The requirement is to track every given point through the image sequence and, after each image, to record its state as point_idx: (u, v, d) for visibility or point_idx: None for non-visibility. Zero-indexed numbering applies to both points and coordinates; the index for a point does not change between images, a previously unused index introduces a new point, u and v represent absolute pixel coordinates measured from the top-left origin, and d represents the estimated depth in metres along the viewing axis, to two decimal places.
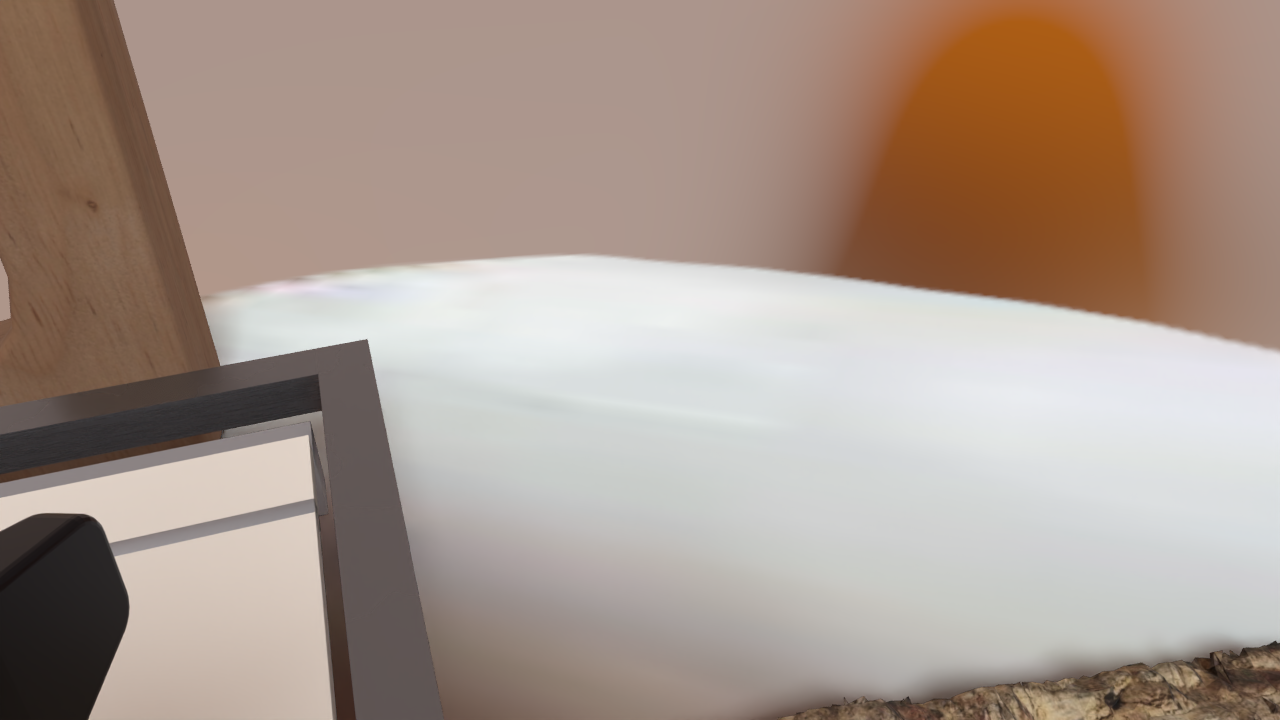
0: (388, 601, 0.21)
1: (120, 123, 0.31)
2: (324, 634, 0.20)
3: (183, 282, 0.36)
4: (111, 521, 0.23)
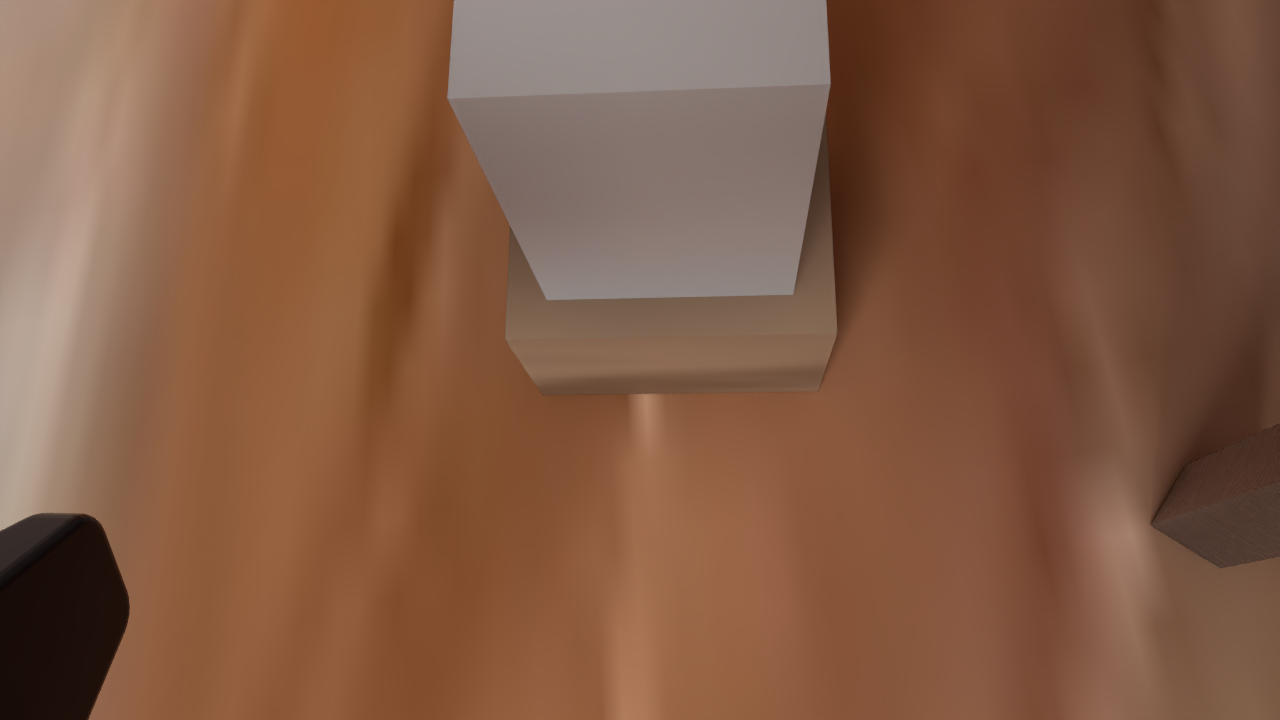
0: None
1: None
2: None
3: None
4: None
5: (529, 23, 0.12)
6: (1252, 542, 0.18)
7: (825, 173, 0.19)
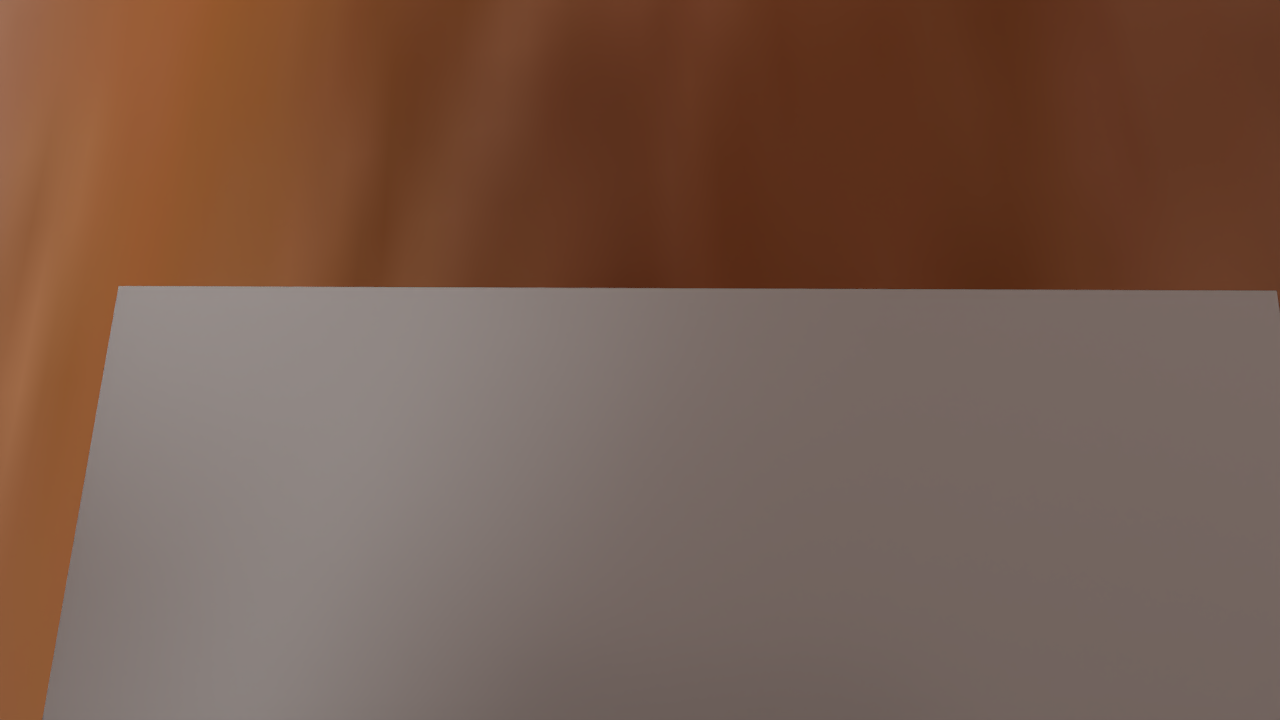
0: None
1: None
2: None
3: None
4: None
5: None
6: None
7: None
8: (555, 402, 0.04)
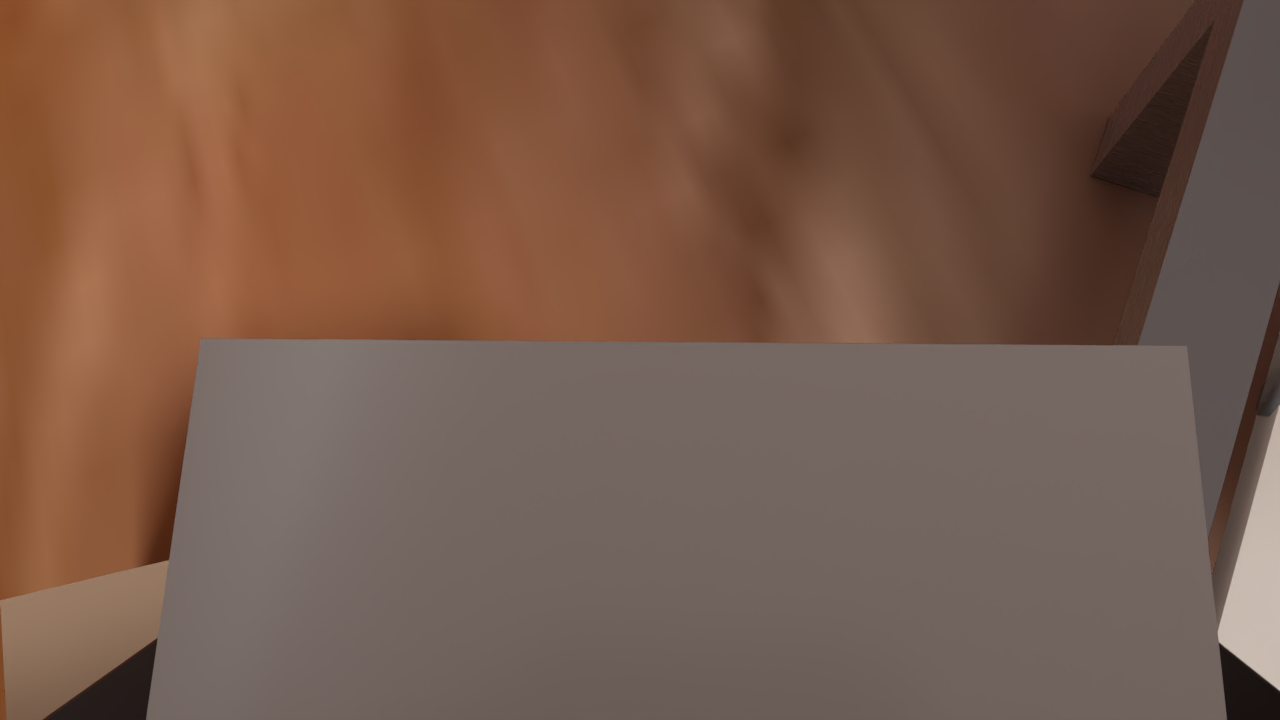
0: None
1: None
2: None
3: None
4: None
5: None
6: None
7: None
8: (575, 440, 0.05)
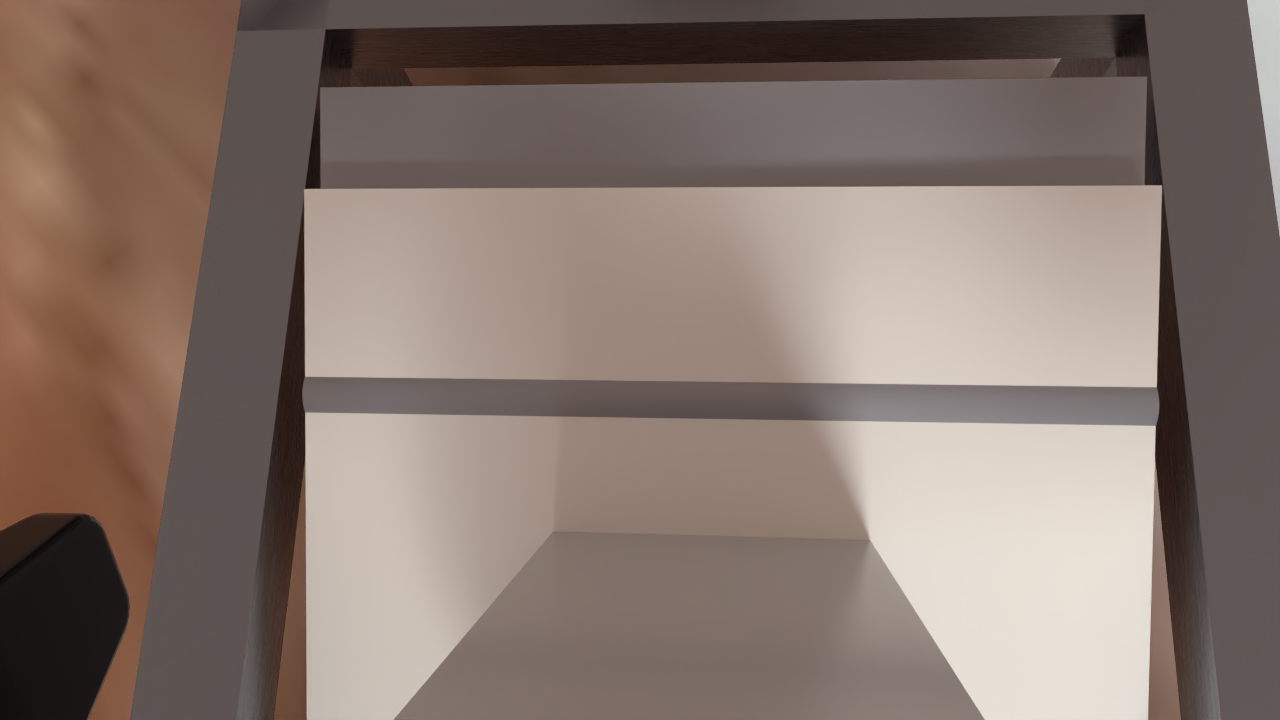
0: None
1: None
2: (1146, 712, 0.14)
3: None
4: (825, 324, 0.14)
5: None
6: None
7: None
8: None
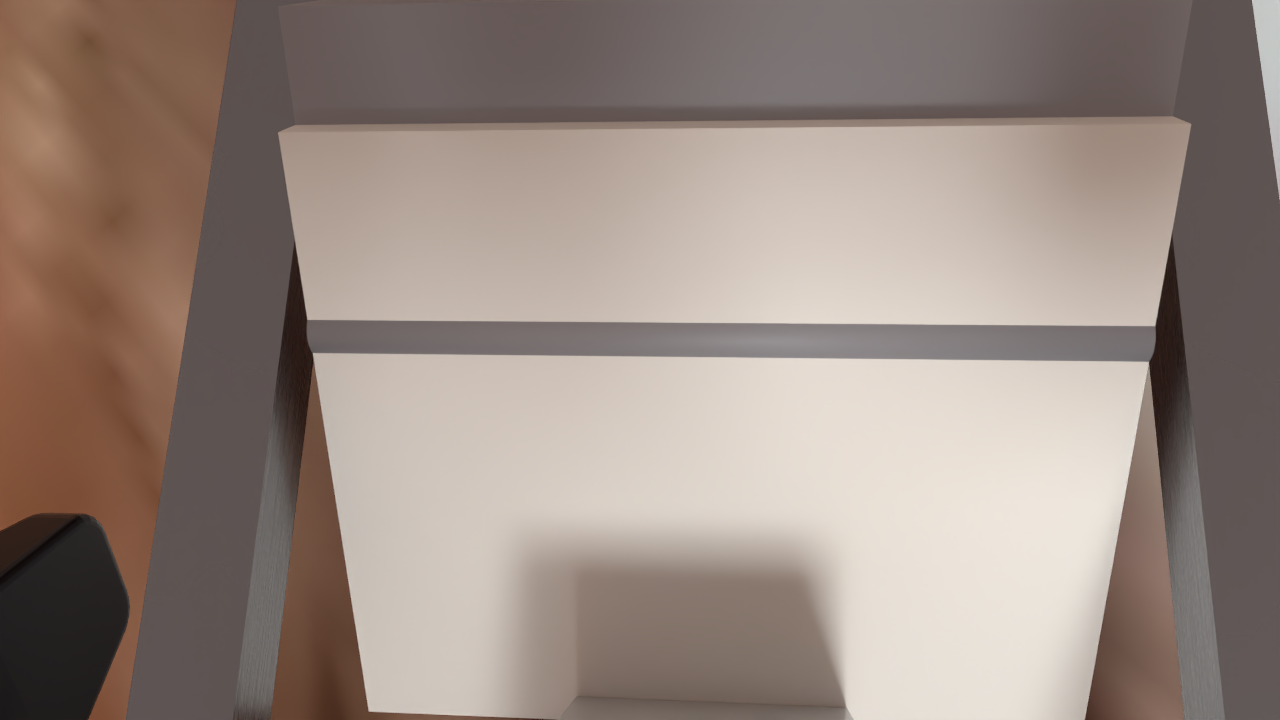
0: None
1: None
2: (1104, 600, 0.16)
3: None
4: (827, 267, 0.14)
5: None
6: None
7: None
8: None
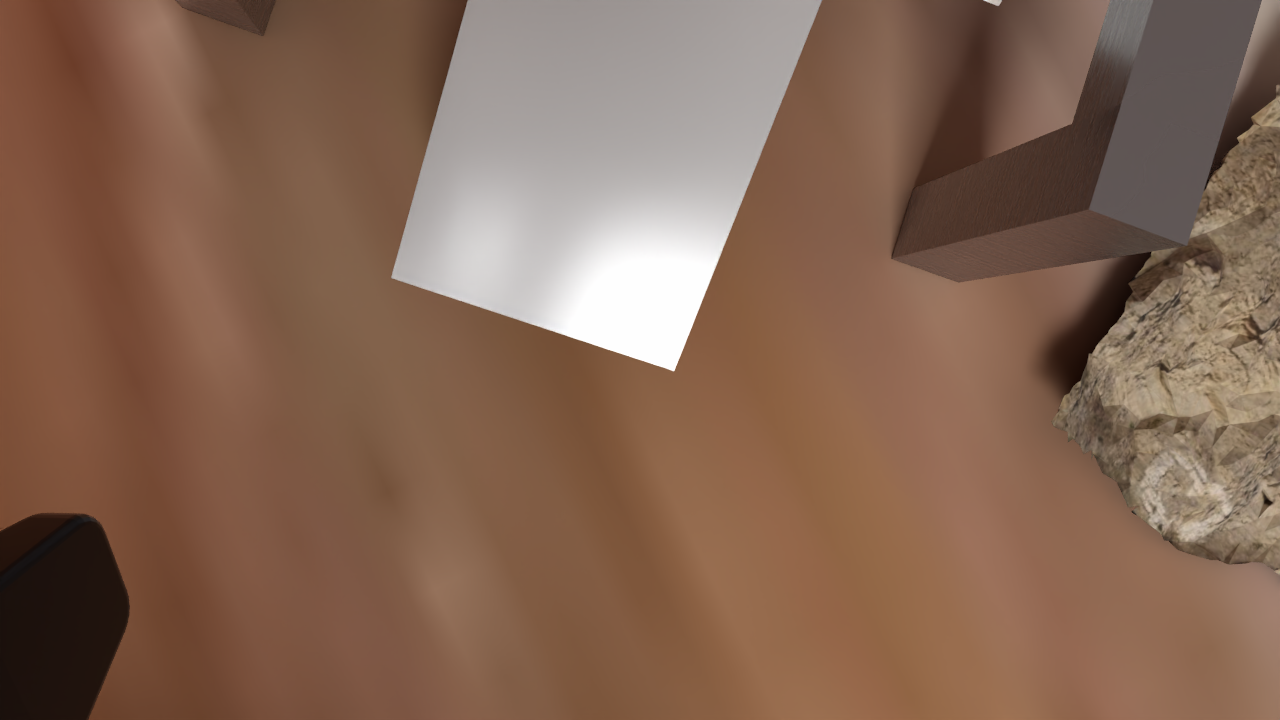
0: None
1: None
2: None
3: None
4: None
5: None
6: None
7: None
8: None
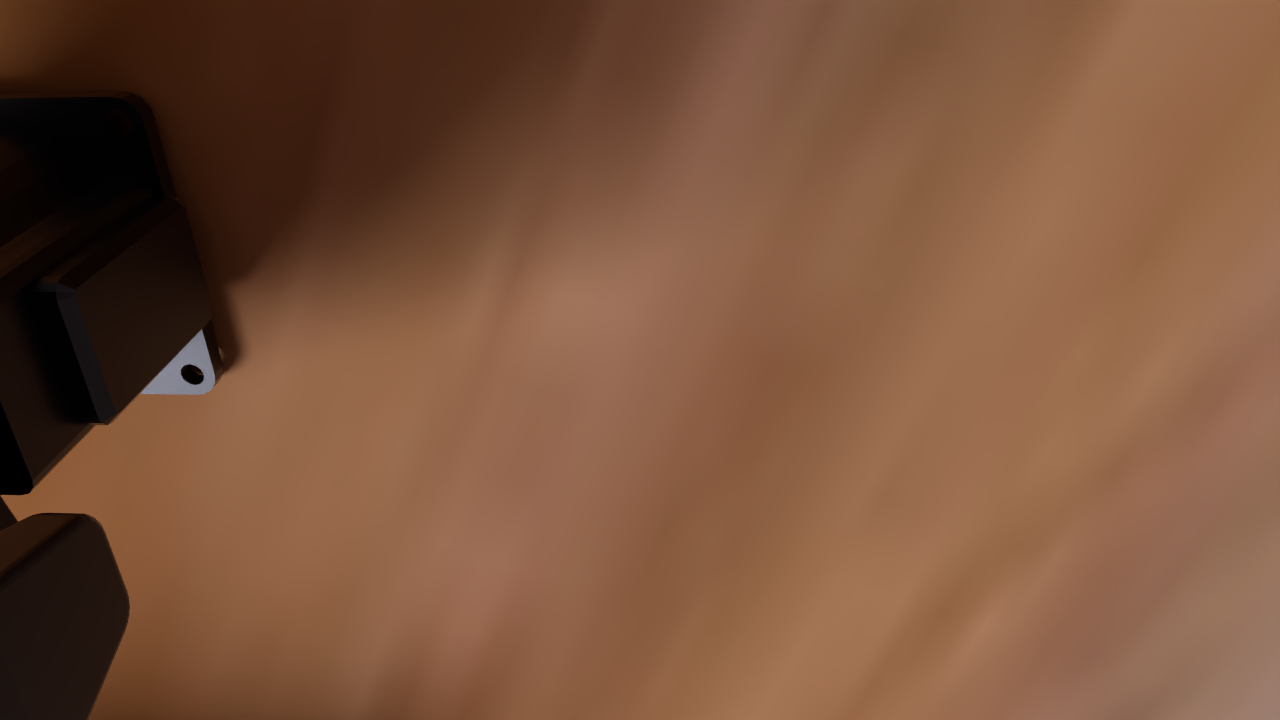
0: None
1: None
2: None
3: None
4: None
5: None
6: None
7: None
8: None
